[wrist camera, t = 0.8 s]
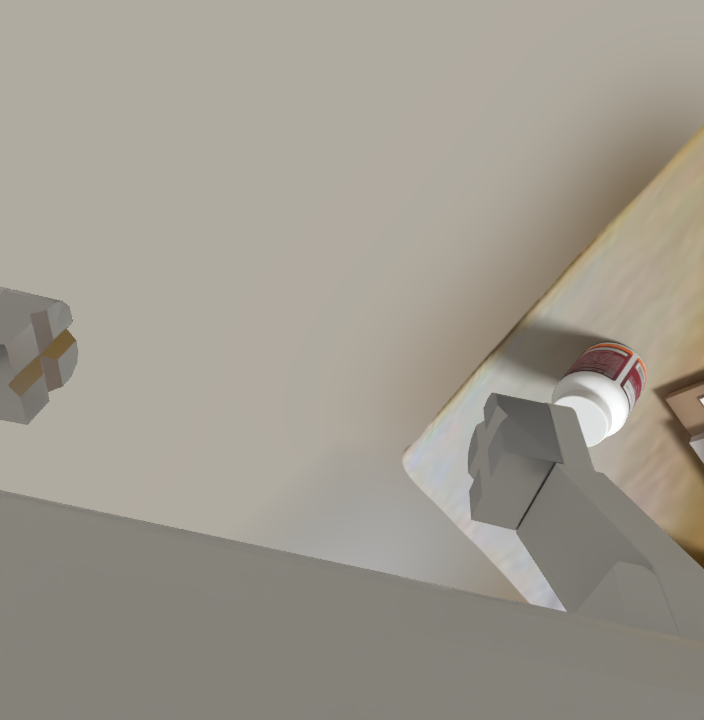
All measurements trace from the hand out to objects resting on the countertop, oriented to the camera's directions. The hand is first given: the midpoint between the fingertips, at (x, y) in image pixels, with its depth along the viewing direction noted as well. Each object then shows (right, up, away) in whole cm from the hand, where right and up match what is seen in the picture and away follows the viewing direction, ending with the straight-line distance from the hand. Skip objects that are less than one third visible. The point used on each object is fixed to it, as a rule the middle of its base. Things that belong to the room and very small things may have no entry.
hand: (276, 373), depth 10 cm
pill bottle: (+27, -1, +41) cm, 49 cm away
